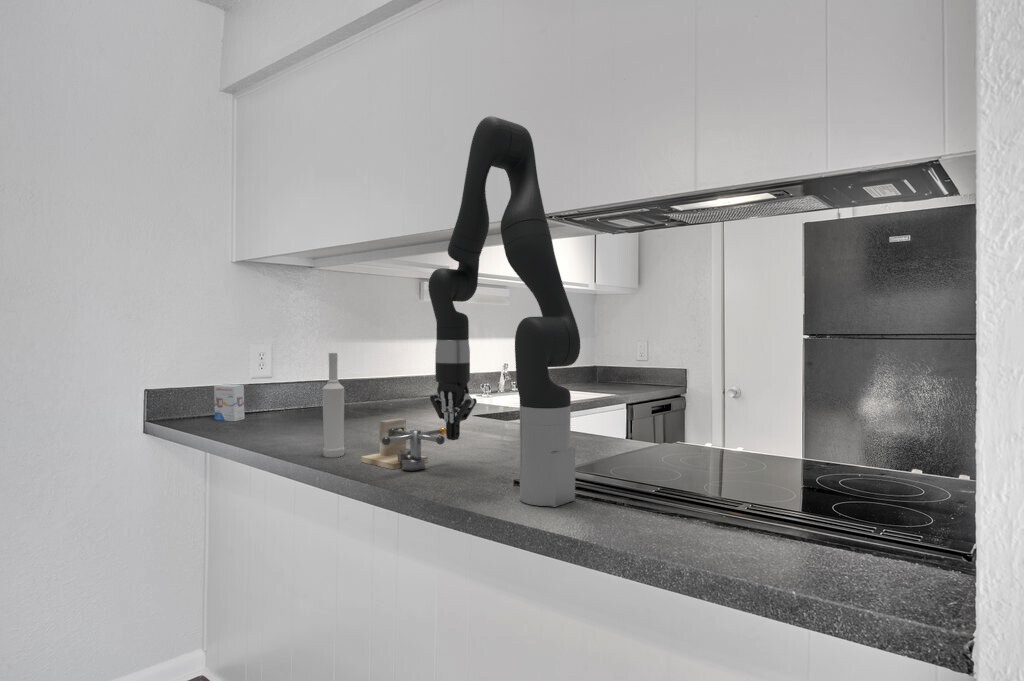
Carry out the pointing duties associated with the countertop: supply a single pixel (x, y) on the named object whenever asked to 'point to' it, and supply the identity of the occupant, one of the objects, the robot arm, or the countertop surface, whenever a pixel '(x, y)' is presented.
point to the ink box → (229, 402)
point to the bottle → (333, 412)
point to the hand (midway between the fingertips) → (452, 439)
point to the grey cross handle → (414, 445)
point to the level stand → (390, 446)
